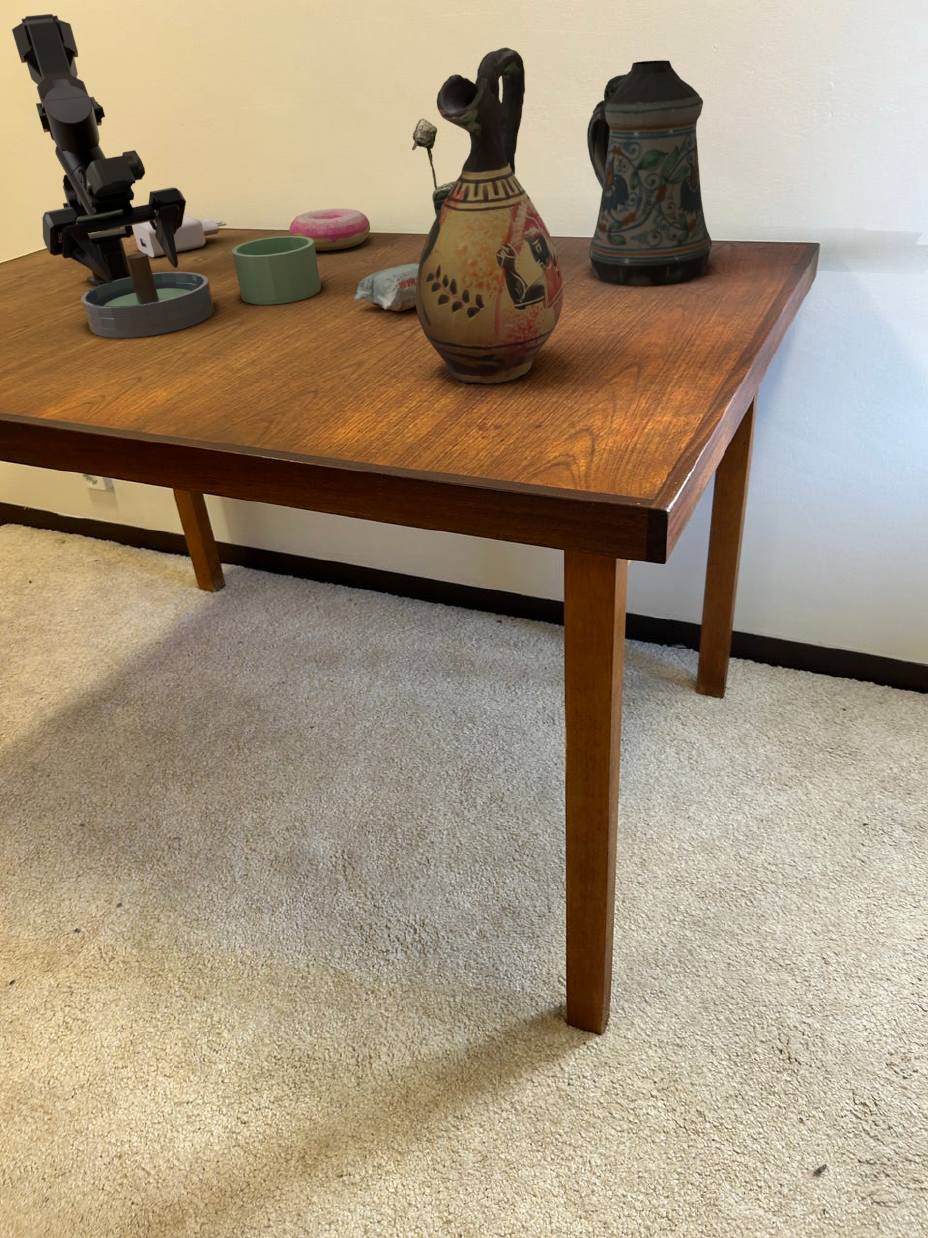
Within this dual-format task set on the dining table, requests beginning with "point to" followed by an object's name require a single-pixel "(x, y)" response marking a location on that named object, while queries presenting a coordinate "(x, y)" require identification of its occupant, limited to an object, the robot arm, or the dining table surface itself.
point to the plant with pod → (426, 139)
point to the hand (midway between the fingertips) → (144, 273)
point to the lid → (144, 284)
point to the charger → (176, 235)
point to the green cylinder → (277, 270)
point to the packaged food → (390, 288)
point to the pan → (148, 307)
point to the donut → (332, 228)
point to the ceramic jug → (488, 240)
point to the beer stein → (648, 179)
